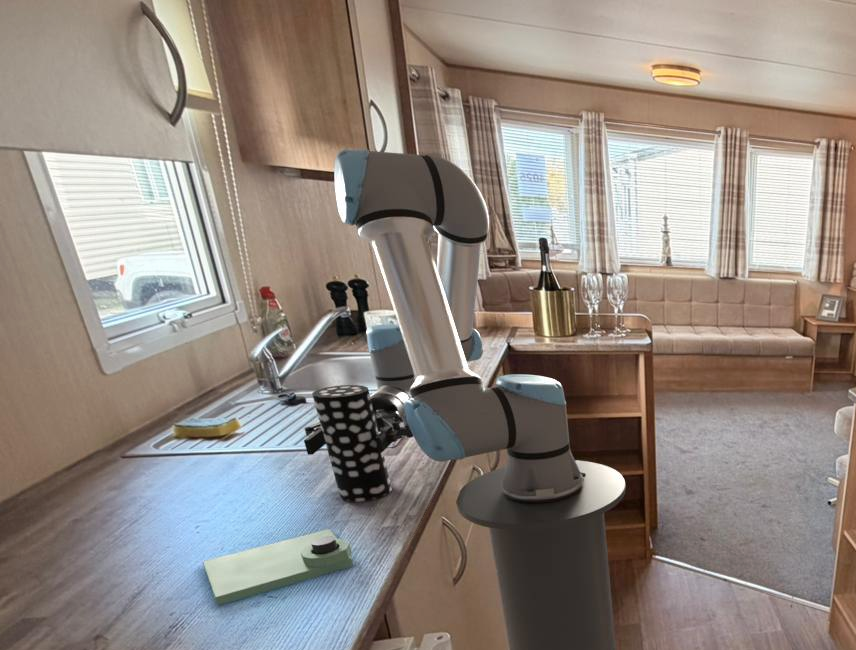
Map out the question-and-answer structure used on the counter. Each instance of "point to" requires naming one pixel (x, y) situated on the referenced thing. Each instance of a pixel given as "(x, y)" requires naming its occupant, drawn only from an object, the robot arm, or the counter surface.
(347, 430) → the white-spotted black cylinder
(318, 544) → the button
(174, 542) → the counter surface
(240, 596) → the scale
